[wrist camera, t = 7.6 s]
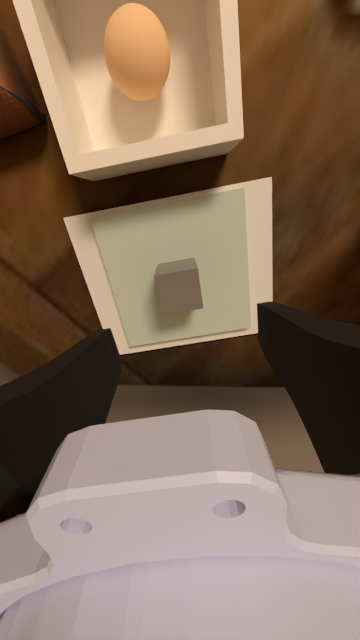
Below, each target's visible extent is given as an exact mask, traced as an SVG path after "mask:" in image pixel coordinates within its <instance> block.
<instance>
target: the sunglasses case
mask: <svg viewBox="0 0 360 640" xmlns="http://www.w3.org/2000/svg"><path fill="white" fill-rule="evenodd" d="M44 118H45V114H42V112H41V108H40V106H39V104H38V101H37V98H36V96H35V94H34V92H33V90H32V88H31V86H30V83H29V81H28V79H27V77H26V75H25V73H24V71H23V68H22V66H21V64H20V62H19V60H18V58H17V55H16V53H15V51H14V49H13V47H12V45H11V42H10V40H9V38H8V36H7V33H6V31H5V29H4V27H3V25H2V22H1V21H0V140H1V139H4V138H7V137H10V136H13V135H16V134H18V133H20V132H23V131H25V130H28V129H30V128H32V127H35V126H36V125H38V124H40V123H42V122H43V121H44Z"/></svg>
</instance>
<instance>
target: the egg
mask: <svg viewBox="0 0 360 640" xmlns="http://www.w3.org/2000/svg"><path fill="white" fill-rule="evenodd" d="M104 56H105V62H106V65H107V69H108V71H109V74H110V76H111V78H112V80H113V82H114V83H115V85H116V86H117V88H118V89H119V90H120V91H121V92H122V93H123V94H124V95H126V96H127V97H129V98H130V99H133V100H136V101H147V100H150V99H152V98H154V97H155V96H156V95H157V94H158V93H159V92H160V91H161V90H162V88H163V87H164V85H165V83H166V80H167V78H168V74H169V70H170V47H169V42H168V38H167V35H166V32H165V30H164V27H163V26H162V24H161V22H160V20H159V19H158V18H157V16H156V15H155V14H154V13H153V12H152V11H151V10H150V9H149V8H147V7H145V6H143V5H141V4H137V3H127V4H125V5H122V6H121V7H119V8H118V9H117V10H116V11H115V12H114V13H113V14H112V16H111V18H110V19H109V22H108V24H107V27H106V31H105V36H104Z"/></svg>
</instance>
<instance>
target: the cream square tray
mask: <svg viewBox="0 0 360 640" xmlns="http://www.w3.org/2000/svg"><path fill="white" fill-rule="evenodd" d="M13 3H14V6H15V9H16V12H17V15H18V18H19V22H20V25H21V28H22V31H23V34H24V37H25V40H26V43H27V46H28V49H29V52H30V55H31V58H32V62H33V65H34V68H35V71H36V74H37V77H38V80H39V83H40V86H41V89H42V92H43V95H44V99H45V102H46V105H47V108H48V111H49V114H50V117H51V120H52V123H53V126H54V129H55V132H56V135H57V139H58V142H59V145H60V148H61V151H62V154H63V157H64V160H65V163H66V166H67V169H68V172H69V174H70V175H73V176H77V177H80V178H84V179H87V180H91V181H98V180H102V179H107V178H112V177H117V176H122V175H127V174H132V173H137V172H141V171H146V170H151V169H156V168H161V167H166V166H171V165H176V164H181V163H185V162H190V161H195V160H200V159H205V158H210V157H215V156H220V155H224V154H228V153H229V152H230V151H231V150H232V149H233V148H234V147H235V146H236V145H237V144H238V143H239V142H240V141H241V140H242V139H243V138H244V134H243V113H242V91H241V70H240V48H239V27H238V5H237V0H13ZM127 3H137V4H141V5H143V6H145V7H147V8H149V9H150V10H151V11H152V12H153V13H154V14H155V15H156V16H157V18H158V19H159V20H160V22H161V24H162V26H163V27H164V30H165V32H166V35H167V38H168V42H169V47H170V70H169V74H168V78H167V80H166V83H165V85H164V87H163V88H162V90H161V91H160V92H159V93H158V94H157V95H156V96H155V97H154V98H152V99H150V100H147V101H136V100H133V99H130V98H129V97H127V96H126V95H124V94H123V93H122V92H121V91H120V90H119V89H118V88H117V86H116V85H115V83H114V82H113V80H112V78H111V76H110V74H109V71H108V69H107V65H106V62H105V56H104V36H105V31H106V27H107V24H108V22H109V19H110V18H111V16H112V14H113V13H114V12H115V11H116V10H117V9H118V8H119V7H121V6H122V5H125V4H127Z"/></svg>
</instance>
